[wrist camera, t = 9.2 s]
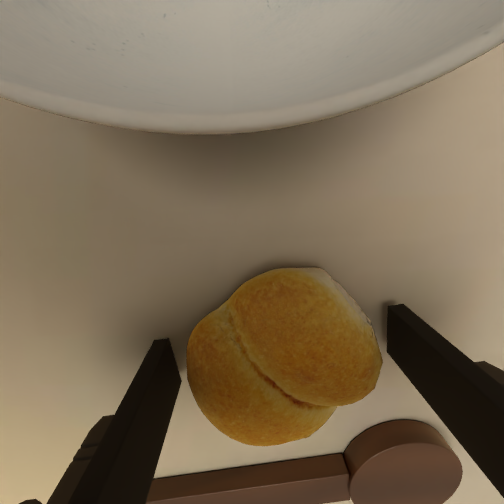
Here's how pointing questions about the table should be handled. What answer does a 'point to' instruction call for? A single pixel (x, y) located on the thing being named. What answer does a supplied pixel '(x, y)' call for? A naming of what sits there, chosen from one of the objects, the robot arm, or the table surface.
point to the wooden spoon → (334, 474)
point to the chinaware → (231, 58)
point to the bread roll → (281, 357)
